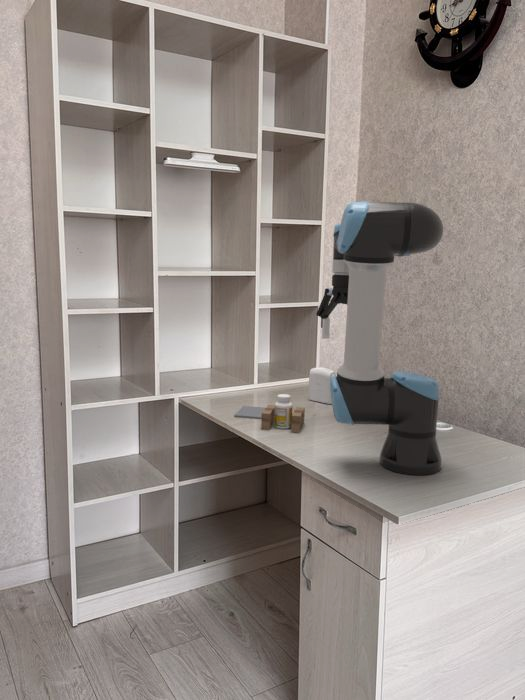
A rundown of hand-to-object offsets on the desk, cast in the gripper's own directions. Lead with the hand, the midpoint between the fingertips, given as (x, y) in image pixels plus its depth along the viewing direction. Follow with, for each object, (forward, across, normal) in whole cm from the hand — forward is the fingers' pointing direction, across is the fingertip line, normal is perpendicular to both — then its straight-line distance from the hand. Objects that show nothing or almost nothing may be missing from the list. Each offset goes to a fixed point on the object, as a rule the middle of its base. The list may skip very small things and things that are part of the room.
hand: (341, 341), depth 190 cm
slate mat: (+25, +19, +19) cm, 37 cm away
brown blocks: (+25, +3, +22) cm, 34 cm away
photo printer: (+25, +16, -10) cm, 32 cm away
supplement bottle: (+25, +3, +22) cm, 34 cm away
